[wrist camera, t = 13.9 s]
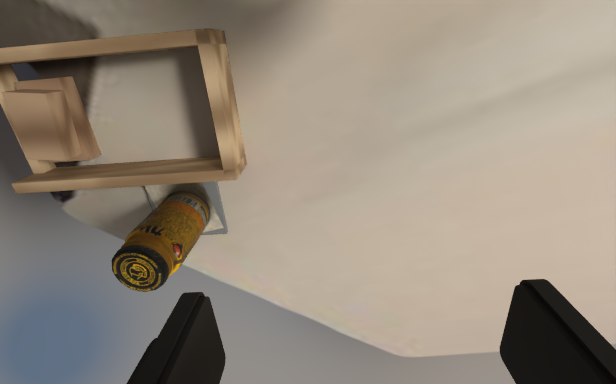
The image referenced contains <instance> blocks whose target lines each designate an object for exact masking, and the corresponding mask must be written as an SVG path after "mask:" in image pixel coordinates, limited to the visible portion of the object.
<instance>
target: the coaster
mask: <svg viewBox="0 0 616 384" xmlns="http://www.w3.org/2000/svg"><path fill="white" fill-rule="evenodd" d="M202 183H203V185H204V187H205V189H206V192H207V194H208V196H209V198H210V200H211V202H212V203H213V206H214V208H215V210H216V212H217V214H218V216H219V219H220V221H221V223H222V225H223V227H224V228H221V229H217V230H212V231H207V232H203V233H202V234H201V235H211V234H227V232H228V229H227V225H226V220H225V216H224V211H223V207H222V202H221V197H220V193H219V188H218V184H217V181H212V182H202ZM146 191H147V190H146ZM147 194H148V198H149V201H150V204H151V207H152V210H154V209H155V208H156V206H155V205H154V203H153V201H152V199H151V198H150V195H149V193H148V192H147ZM166 197H167V196H166Z"/></svg>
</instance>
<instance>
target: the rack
mask: <svg viewBox="0 0 616 384" xmlns="http://www.w3.org/2000/svg"><path fill="white" fill-rule="evenodd" d="M191 47H198V49H199V54H200V58H201V63H202V68H203V73H204V78H205V83H206V88H207V92H208V97H209V102H210V107H211V112H212V117H213V122H214V126H215V131H216V136H217V141H218V146H219V151H220V156H219V157H204V158H189V159H174V160H159V161H144V162H129V163H114V164H100V165H85V166H70V167H56V166H55V164H54V162H53V163H50V161H49V160H30V159H27V160H28V163H29V165H30V167H31V169H32V171H33V173H34V174H32V175H30V176H28V177H26V178H23V179H21V180H19V181H17V182H14V183H12V186H13V188H14V190H15V192H16V193H17V194H18V193H33V192H50V191H66V190H82V189H98V188H115V187H131V186H147V185H163V184H179V183H195V182H212V181H228V180H237V179H238V177H239V175H240V174H241V172H242V171H243V169H244V168H245V166H246V164H247V163H246V157H245V151H244V146H243V140H242V134H241V128H240V122H239V116H238V111H237V105H236V99H235V93H234V87H233V82H232V76H231V70H230V64H229V58H228V52H227V47H226V41H225V35H224V31H219V30H213V29H198V30H187V31H177V32H166V33H156V34H145V35H135V36H124V37H114V38H103V39H93V40H82V41H72V42H61V43H51V44H40V45H30V46H19V47H9V48H0V104H1V106H2V108H3V110H4V112H5V114H6V117H7V119H8V121H9V123H10V125H11V127H12V129H13V131H14V133H15V135H16V137H17V140H18V142H19V144H20V141H19V138H18V136H17V133H16V130H15V127H14V125H13V122H12V119H11V117H10V114H9V111H8V108H7V106H6V103H5V100H4V98H3V95H2V92H6V91H13V90H17V89H16V86H15V84H14V82H18V80H17V77H16V75H15V73H14V71H13V68H12V66H11V64H15V63H27V62H38V61H49V60H60V59H71V58H81V57H92V56H103V55H114V54H125V53H136V52H147V51H158V50H169V49H180V48H191ZM20 146H21V144H20ZM21 148H22V146H21ZM22 150H23V149H22Z"/></svg>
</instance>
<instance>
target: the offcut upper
mask: <svg viewBox="0 0 616 384" xmlns="http://www.w3.org/2000/svg"><path fill="white" fill-rule="evenodd" d="M2 95H3V98H4V100H5V103H6V106H7V108H8V111H9V114H10V117H11V119H12V122H13V125H14V127H15V130H16V133H17V136H18V138H19V141H20V144H21V146H22V149H23V152H24V154H25V157H26V159H30V160H54V161H67V160H69V159H72V158H74V157H76V156H78V155H81V154H82V152H81V148H80V145H79V141H78V138H77V134H76V131H75V127H74V124H73V120H72V117H71V113H70V110H69V106H68V103H67V100H66V96H65V93H64V90H35V89H20V90H13V91H6V92H2Z"/></svg>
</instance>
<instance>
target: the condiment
mask: <svg viewBox="0 0 616 384" xmlns="http://www.w3.org/2000/svg"><path fill="white" fill-rule="evenodd" d="M145 188H146V190H147V192H148V193H149V195H150V198H151V199H152V201H153V203H154V205H155V206H156V208H155V209H154V210H153V212H152V213H151V214H149V215H148V217H146V219H144V220H143V221H142V222H141V223H140V224H139V225H138V226H137V227H136V228H135V229H134V230H133V231H132V232H131V233H130V234H129V235H128V237H127V238H126V240H125V244H124V245H123V246H122V247H121V249H120V250H118V251H117V253H116V254H115V255H114V257H113V259H112V270H113V272H114V274H115V276H116V278H117V279H118V280H119V281H120V282H121V283H122V284H124V285H125V286H127V287H128V288H130V289H133V290H137V291H143V292H145V291H146V292H147V291H152V290H156V289H158V288H159V287H160V286H162V285H163V284H164V283H165V282H166V280H167V278H168V277H169V276H170V275H171V274H172V273H174V272H175V271H176V270H177V269H178V268H179V267H180V266H181V265H182V263H183V262H184V260H185V259H186V257H187V255H188V254H189V252H190V251H191V250H192V248H193V246H194V245H195V243H196V242H197V240H198V239H199V237H200V235H201V234H202V233H203V232H207V231H212V230H217V229H221V228H224V227H223V225H222V223H221V221H220V219H219V216H218V214H217V212H216V210H215V208H214V206H213V203H212V202H211V200H210V198H209V196H208V194H207V192H206V189H205V187H204V185H203V183H202V182H195V183H179V184H163V185H147V186H145ZM166 196H167V197H166Z"/></svg>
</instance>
